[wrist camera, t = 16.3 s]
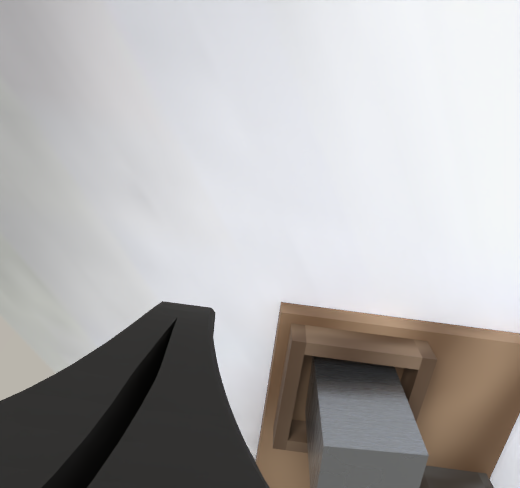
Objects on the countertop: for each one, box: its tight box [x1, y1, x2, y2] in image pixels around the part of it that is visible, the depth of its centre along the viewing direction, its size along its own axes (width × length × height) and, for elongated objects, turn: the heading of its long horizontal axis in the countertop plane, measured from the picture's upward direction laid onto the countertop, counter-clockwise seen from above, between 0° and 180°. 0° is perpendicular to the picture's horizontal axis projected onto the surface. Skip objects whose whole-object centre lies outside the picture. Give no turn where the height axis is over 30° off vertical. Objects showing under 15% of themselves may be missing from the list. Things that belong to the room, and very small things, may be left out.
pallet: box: [256, 302, 520, 488], centre depth 23 cm, size 14×15×3 cm
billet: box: [305, 356, 429, 488], centre depth 19 cm, size 4×4×6 cm
